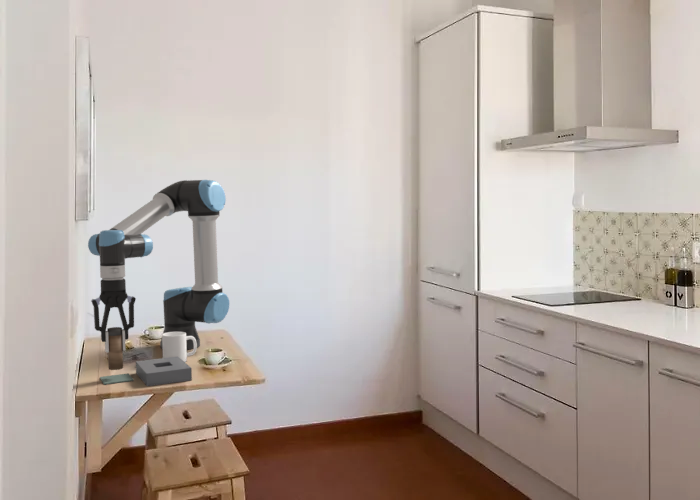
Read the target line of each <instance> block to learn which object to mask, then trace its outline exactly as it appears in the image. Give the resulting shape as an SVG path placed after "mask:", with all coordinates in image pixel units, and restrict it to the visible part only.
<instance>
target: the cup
mask: <svg viewBox="0 0 700 500" xmlns="http://www.w3.org/2000/svg"><path fill="white" fill-rule="evenodd" d="M161 338H162V348H163V349H162V358H169V357H177V356H178V357H179V358H180V359H181V360H183V361H184V362H185V363H186V362H187V360H188V359H187V358H188V357H191V356H193V355H194V354H195V353H196V351H197V348H198V347H197V342H196V339H195V338H194V337H193V336H186V333H185V332H167V333H164V334H163V333H162V334H161ZM189 339H192V340H193V343H194V348H193V350H192V351H190V352H187V351H188V350H187V345H186V340H189Z"/></svg>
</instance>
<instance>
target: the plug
mask: <svg viewBox="0 0 700 500" xmlns="http://www.w3.org/2000/svg"><path fill="white" fill-rule="evenodd" d="M122 329H123V327H121V326H113V327H108V328H106V331H108V340H109V352H107V354H108V356H107V357H108V359H107V360H108V362H107V363H108V370H110V371H119V370H122V369H123V368H124V356H123V354H124V352H123V348H122Z"/></svg>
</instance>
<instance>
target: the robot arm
mask: <svg viewBox="0 0 700 500" xmlns="http://www.w3.org/2000/svg"><path fill="white" fill-rule="evenodd" d="M226 199H227V198H226V193H225V190H224V188H223V186H221V184H220V183H219V182H218V181H216V180H211V179H194V180H192V179H190V180H187V179H186V180H180V181H176V182H174V183H172V184H170V185H168V186H166V187H164V188H163V189H161V190H160V191H158V192H157V193H155V194H154V195H153V197H152V199H151V200H150V201H149V202H147V203H145V204H144V205H143V206H142V207H140V208H139V209H137V210H135V211H134V212H132V213H131V214H130V215H129V216H127V217H126V218H124V219H122V220H121V221H120V222H118V223H117V224H115V225H114V226H112V227H111V228H109V229H105V230H101V231H100V232H99V233H95V234H92V235H91V236H90V237H89V239H88V243H87V248H88V251H89V252H90V253H91V254H92V255H93V256H96V257H97V256H98V257H99V271H100V272H99V273H100V278H101V280H100V294H99V296H98V297H96V298H95V299H94V298H92V299H91V300H90V302H91V304H92V306H93V322H94V329H95V331H98V332H100V340H101V342H103V343H104V351H105V353H107V354H108V352H109V340H108V331H107V327H108V326H107V325H108V321H109V317H110V311H111V309H113V308H116V309H118V312H119V316H120V321H121V324H122V348H123V351H125V352H126V340H129V329H131V328H134V327H135V302H136V299H137V298H136V297H135V296H131V295H128V293H127V290H126V289H127V287H126V285H127V284H126V283H127V282H126V279H125V278H126V259H133V258H134V259H135V258H143V257H147V256H150V254H152V252H153V249H154V242H153V239H152V238H151V236H149V235H148V234H145V233H144V232H146V231H147V230H149V229H150V228H151V227H152V226H154V225H155V224H157V223H158V222H159V221H161V220H162V219H163V218H164V217H170V216H172V215H174V214H175V213H179V212H187V217H188V218H189V219H190V220H191V221H192V239H193V241H192V242H193V244H192V245H193V265H194V269H193V270H194V285H193V286H186V287H185V286H184V287H179V288H178V287H177V288H172V289H167V290H165V291H164V292H163V300H162V302H163V319H164V320H163V321H164V322H163V323H164V324H163V325H164V328H163V333H162V334H164V333H167V332H185V333H186V336H193V337H194V338H195V339H196V342H197V348H198V347H200V346H201V339H200V336H199V334H198V333H199V332H198V331H197V328H196V323H204V324H218V323H220V322H222V321H223V320H224V319H225V318H226V317H227V315H228V312H229V309H230V299H229V297H228V295H227V293H225V292H223V286H222V285H221V284H220V283H219V275H218V274H219V273H218V271H219V269H218V251H217V250H218V247H217V246H218V244H217V219H218V218H219V217H220V211H221V212H222V210H223V209H224V208H225V205H226V201H227V200H226ZM143 233H144V234H143ZM126 300H127V302H128V321H127V318H126V315H125V311H124V306H123V304H124V303H125V302H126ZM100 302H102V303H103V305H104V311H103V316H102V320H101V321H102V322H101V325H100V309H99V305H100V304H101V303H100ZM159 343H160V349H161V350H163V348H162V337H161V340H160V342H159ZM186 345H187V351H188V350H192V349H194V343H193V340H192V339H189V340H186Z"/></svg>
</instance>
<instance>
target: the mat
mask: <svg viewBox="0 0 700 500" xmlns="http://www.w3.org/2000/svg"><path fill="white" fill-rule="evenodd" d="M99 379H100V381H101V382H102V384H103V385H104V386H106V385H111V384H113V385H114V384H120V383H126V382H127V383H129V382H134V381H135V379H134V378H133V377H132V375H130V373H127V372H126V373H119V374H112V375H105V376H104V375H103V376H99Z"/></svg>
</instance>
